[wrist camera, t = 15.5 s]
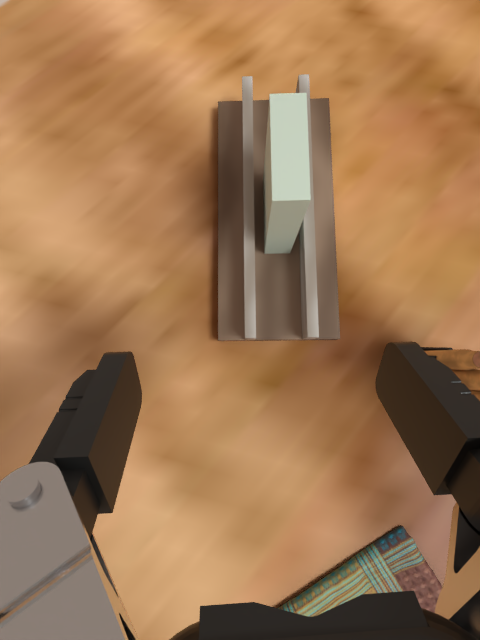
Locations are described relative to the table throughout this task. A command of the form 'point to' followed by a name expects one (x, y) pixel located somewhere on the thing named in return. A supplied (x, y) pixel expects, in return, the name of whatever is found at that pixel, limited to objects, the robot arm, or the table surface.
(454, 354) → the ammunition clip
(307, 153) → the door panel
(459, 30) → the table surface
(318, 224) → the board
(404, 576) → the dish towel
